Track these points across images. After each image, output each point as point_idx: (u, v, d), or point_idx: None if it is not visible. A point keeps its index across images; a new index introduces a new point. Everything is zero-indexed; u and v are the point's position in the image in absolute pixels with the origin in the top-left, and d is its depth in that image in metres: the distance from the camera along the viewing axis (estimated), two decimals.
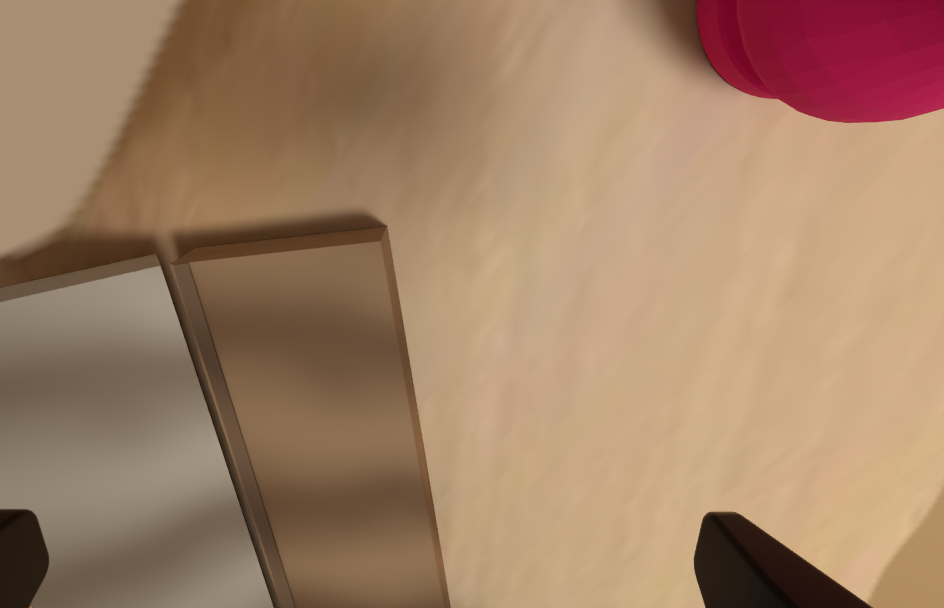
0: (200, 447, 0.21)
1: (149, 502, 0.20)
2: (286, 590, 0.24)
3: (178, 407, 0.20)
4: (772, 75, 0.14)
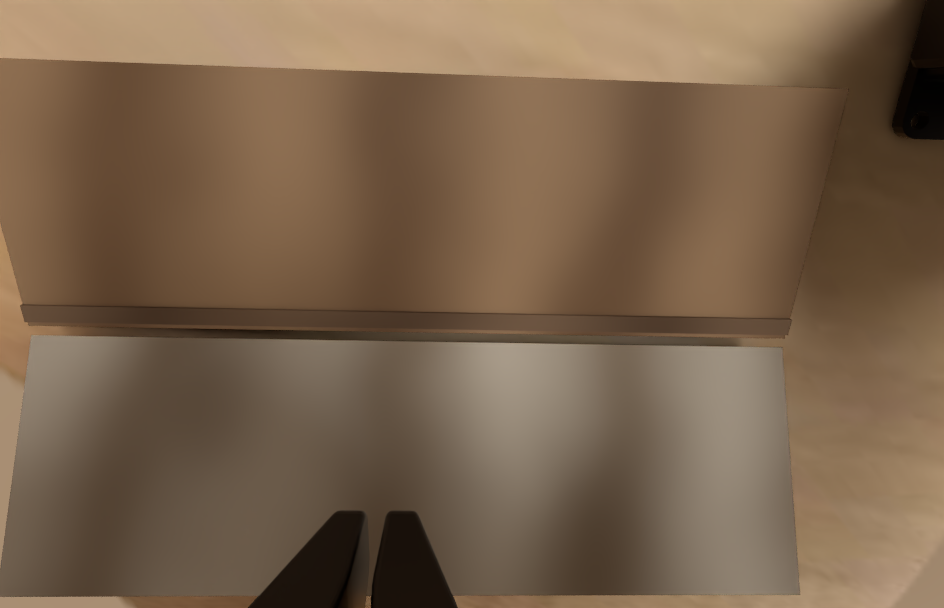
0: (276, 361, 0.16)
1: (320, 436, 0.16)
2: (544, 319, 0.16)
3: (210, 368, 0.16)
4: None
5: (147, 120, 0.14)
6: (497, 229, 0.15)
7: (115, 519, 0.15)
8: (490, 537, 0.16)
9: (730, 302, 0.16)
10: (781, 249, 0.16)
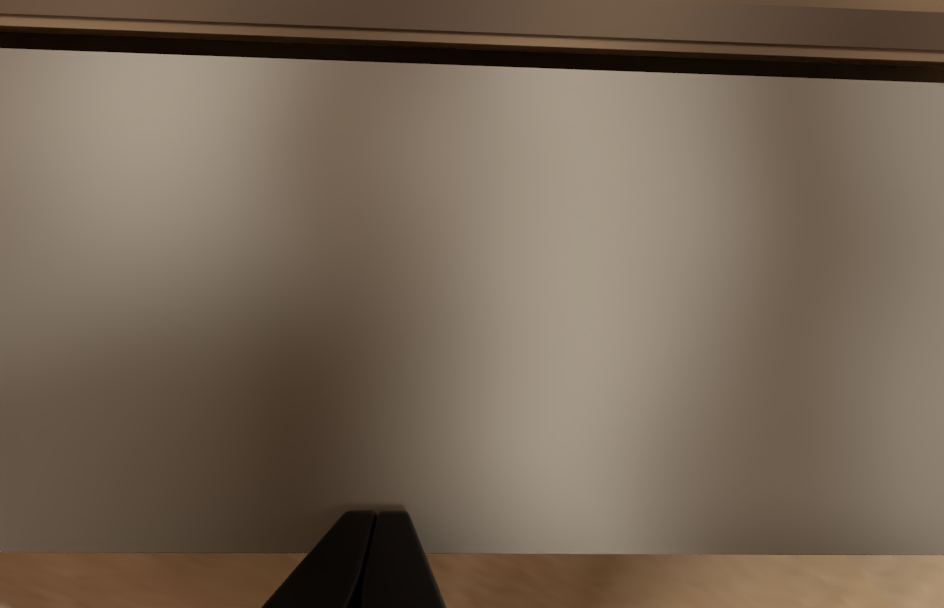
0: (110, 93, 0.08)
1: (197, 238, 0.08)
2: (646, 10, 0.08)
3: None
4: None
5: None
6: None
7: None
8: (538, 439, 0.08)
9: None
10: None
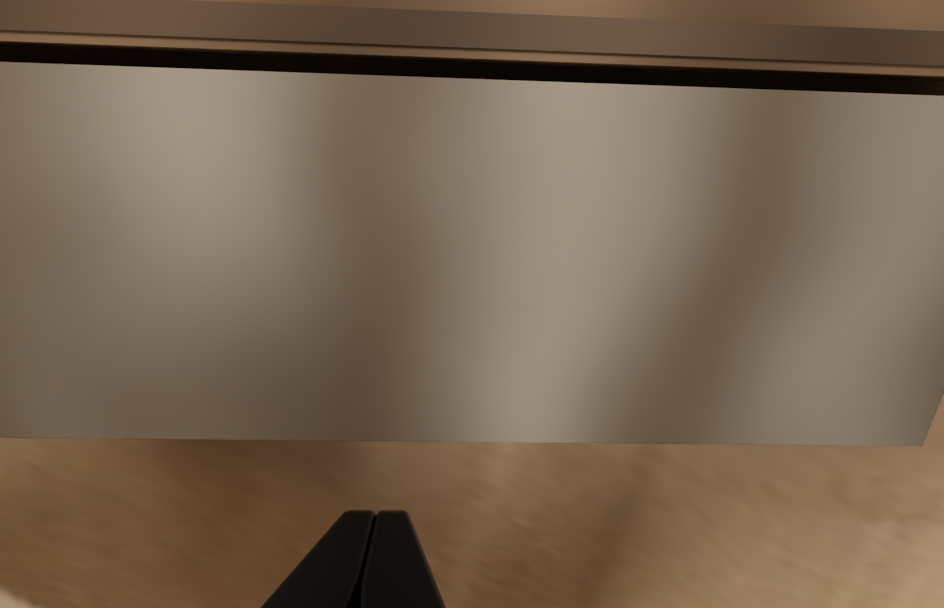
0: (153, 109, 0.09)
1: (255, 238, 0.10)
2: (639, 28, 0.09)
3: (39, 121, 0.09)
4: None
5: None
6: None
7: None
8: (518, 378, 0.11)
9: None
10: None
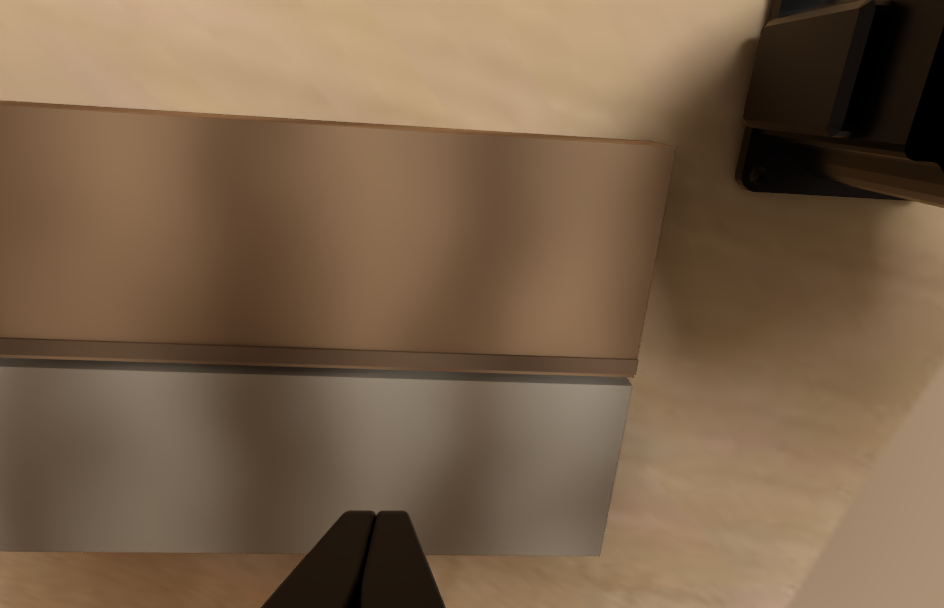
0: (140, 389, 0.17)
1: (195, 449, 0.18)
2: (399, 356, 0.17)
3: (77, 394, 0.17)
4: None
5: None
6: (348, 270, 0.16)
7: (30, 504, 0.18)
8: None
9: (579, 343, 0.17)
10: (624, 294, 0.17)
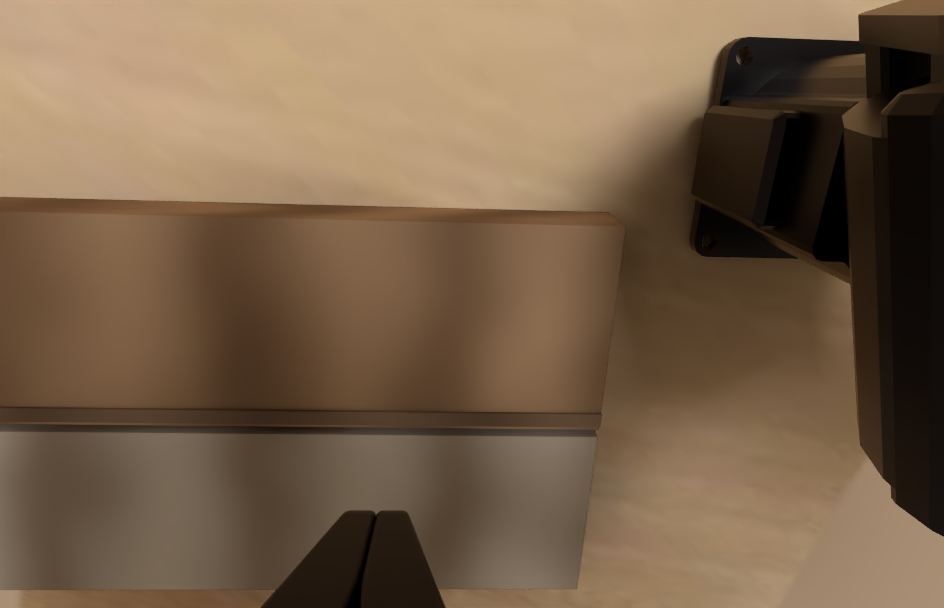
0: (149, 449, 0.19)
1: (201, 499, 0.20)
2: (380, 415, 0.18)
3: (94, 454, 0.19)
4: None
5: (14, 256, 0.16)
6: (330, 342, 0.18)
7: (56, 549, 0.20)
8: None
9: (546, 400, 0.18)
10: (585, 356, 0.18)
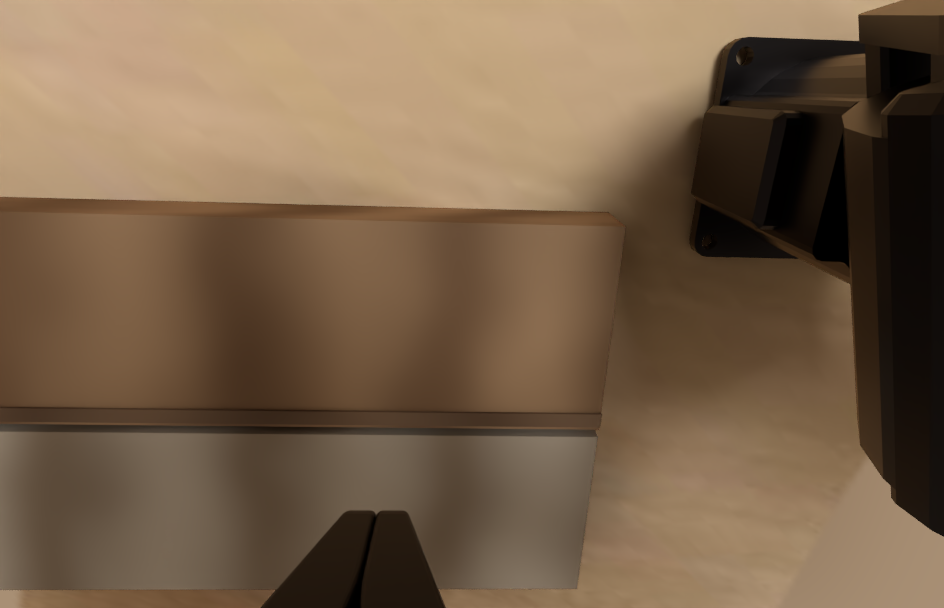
0: (149, 449, 0.19)
1: (201, 499, 0.20)
2: (380, 415, 0.18)
3: (94, 454, 0.19)
4: None
5: (14, 256, 0.16)
6: (330, 342, 0.18)
7: (56, 549, 0.20)
8: None
9: (546, 400, 0.18)
10: (585, 356, 0.18)
